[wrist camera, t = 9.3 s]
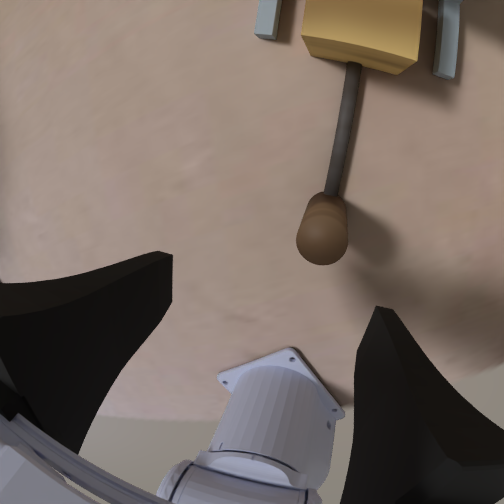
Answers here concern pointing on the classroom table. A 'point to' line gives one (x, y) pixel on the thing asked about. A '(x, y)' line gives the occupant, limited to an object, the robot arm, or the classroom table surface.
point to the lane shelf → (444, 41)
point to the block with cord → (351, 94)
